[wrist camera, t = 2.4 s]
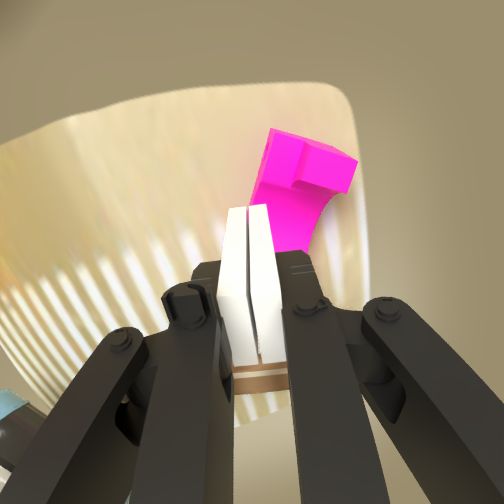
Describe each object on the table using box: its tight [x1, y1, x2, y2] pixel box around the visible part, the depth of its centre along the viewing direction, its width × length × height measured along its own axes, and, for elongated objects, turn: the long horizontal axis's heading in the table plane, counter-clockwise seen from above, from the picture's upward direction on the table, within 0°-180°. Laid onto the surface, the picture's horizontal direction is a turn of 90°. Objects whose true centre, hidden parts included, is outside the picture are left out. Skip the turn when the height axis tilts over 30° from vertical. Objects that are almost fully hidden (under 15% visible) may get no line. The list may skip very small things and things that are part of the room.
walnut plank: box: [231, 354, 289, 395], centre depth 40 cm, size 16×5×3 cm, turn 98°
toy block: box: [247, 128, 358, 253], centre depth 28 cm, size 15×6×8 cm, turn 166°
